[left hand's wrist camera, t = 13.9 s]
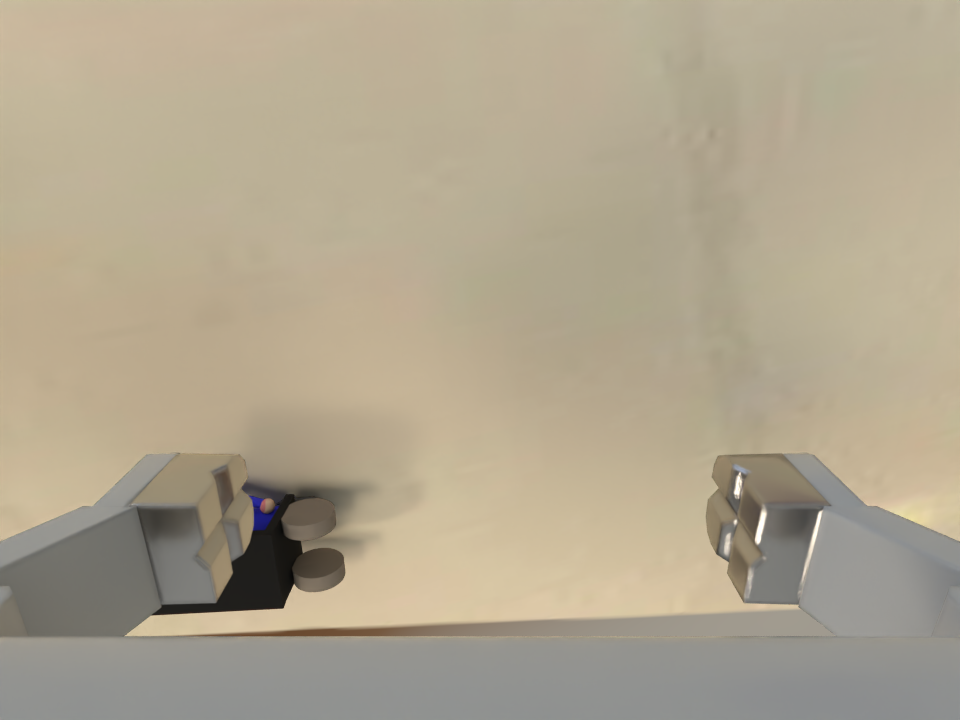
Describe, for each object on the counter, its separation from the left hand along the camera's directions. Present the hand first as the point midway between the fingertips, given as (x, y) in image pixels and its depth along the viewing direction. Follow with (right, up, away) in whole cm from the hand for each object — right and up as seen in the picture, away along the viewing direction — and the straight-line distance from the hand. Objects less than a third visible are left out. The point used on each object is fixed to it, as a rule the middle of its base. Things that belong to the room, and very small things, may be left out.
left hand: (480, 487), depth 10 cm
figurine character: (-18, -10, +35) cm, 40 cm away
